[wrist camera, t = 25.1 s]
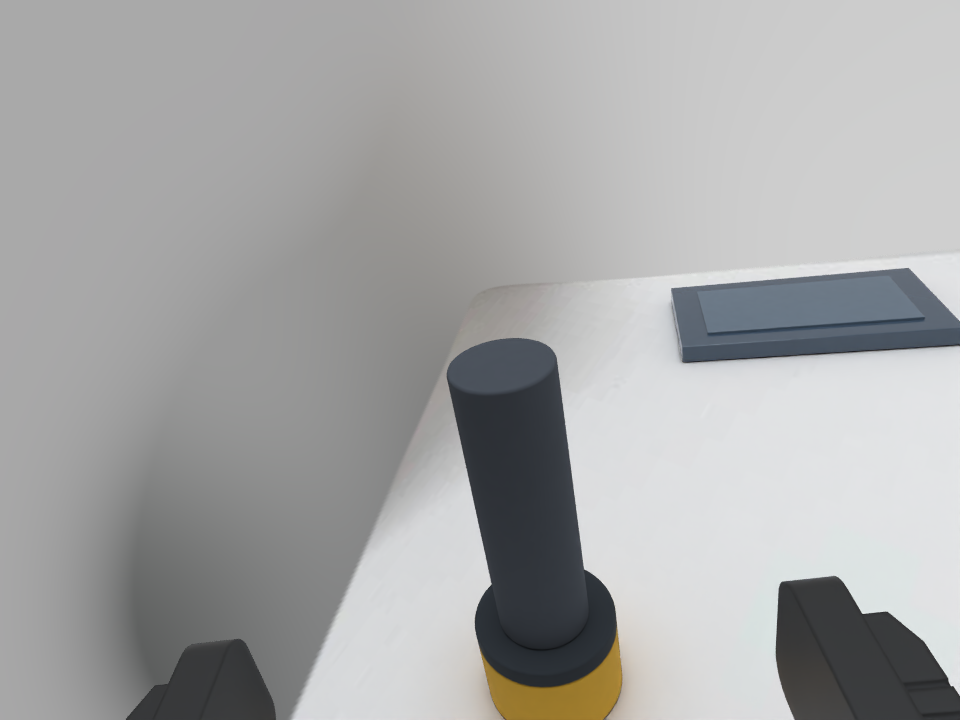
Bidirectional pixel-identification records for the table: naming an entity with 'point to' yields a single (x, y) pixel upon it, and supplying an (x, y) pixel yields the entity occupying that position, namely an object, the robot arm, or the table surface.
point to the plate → (811, 316)
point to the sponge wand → (531, 540)
